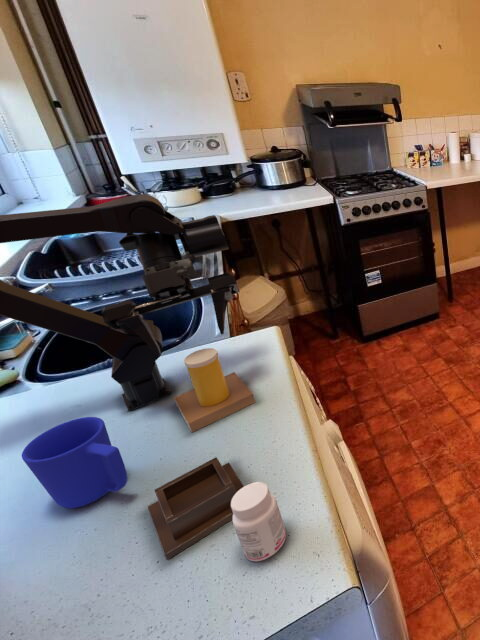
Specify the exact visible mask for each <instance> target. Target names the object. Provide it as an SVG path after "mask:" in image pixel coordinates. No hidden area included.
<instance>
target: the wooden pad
mask: <svg viewBox="0 0 480 640" xmlns="http://www.w3.org/2000/svg"><path fill="white" fill-rule="evenodd" d="M224 377H225V380H226V383H227V387H228V390H229V396H228V397H227V398H226V399H225V400H224V401H222V402H221V403H219V404H216V405H213V406H201V405H200V403H199V400H198V398H197V395H196V392H195V389H194V388H193V389H190V390H188V391H186V392H183V393H181V394H179V395H176V396H174V397H173V399H174V401H175V405H176V407H177V409H178V410H179V413H180V414H181V416H182V418H183V419H184V421H185V423H186V425H187V427H188V428H189V430H190V431H191V433H194V432H197V431H198V430H200V429H203V428H205V427H207V426H209V425H211V424H213V423H215V422H218V421H219V420H221V419H224V418H226V417H228V416H230V415H232V414H235V413H236V412H238V411H240V410H242V409H244V408H245V409H246V408H247V407H249V406H250V405H251V406H252V405H253V404H255V403H256V400H255V397H254V393H253V392H252V390H250V388H248V386H247V385H246V384H245V383H244V382H243V380H242V379H241V378H240V376H239V375H238V374H237V373H236V372H235V371H233V372H231V373H229V374H226V375H224Z"/></svg>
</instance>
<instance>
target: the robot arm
mask: <svg viewBox="0 0 480 640" xmlns="http://www.w3.org/2000/svg"><path fill="white" fill-rule="evenodd" d="M95 232H97V233H98V232H99V233H100V232H101V233H103V232H104V233H115V234H126V235H124V236H123V237H122V238H121V239H120V240H119V241H118V243H119V245H120V246H121V247H122V249H123V250H124V251H125V252H129V251H130V252H131V251H134V250H136V252H137V254H138V257H139V260H140V263H141V265H142V269H143V271H144V274H143V275H141V278H142V280H143V283H144V285H145V287H146V290H147V293H148V296H149V297H150V298H153V299H152V300H149V301H145V302H142V303H138V304H136V303H135V302H134V301H133V300H132V299H128V300H124V301H121V302H120V301H119V302H117V303H113V304H109V305H107V306H104V307H103V309H102V311H101V315H99V314H96V313H94V312H90V311H87V310H85V309H81V308H79V307H75V306H73V305H71V304H70V305H69V304H67V303H64V302H62V301H58V300H56V299H52V298H50V297H46V296H44V295H41V294H38V293H36V292H32V291H30V290H27V289H24V288H20V287H17V286H15V285H12V284H9V283H7V282H5V281H4V280H2V279H1V278H0V316H2V317H5V318H8V319H11V320H14V321H17V322H20V323H24V324H28V325H31V326H34V327H38V328H41V329H43V330H47V331H50V332H54V333H57V334H60V335H63V336H67V337H70V338H73V339H77V340H80V341H83V342H86V343H89V344H93V345H95V346H97V347H98V348H99V349H101V350H102V351H104V352H105V354H107V355H109V356H110V357H112V367H111V375H110V376H111V377H110V378H112V380H114V381H115V382H116V383H118V384H120V387H121V389H122V392H123V393H122V394H121V397H122V399H123V402H124V404H125V406H126V409H127V411H133V410H136V409H138V408H140V407H143V406H145V405H148V404H150V403H152V402H155V401H157V400H160V399H162V398H164V397H167V396H170V395H171V394H172V391H171V389H170V387H169V385H168V383H167V381H166V380H165V378H163V377H162V375H161V372H160V370H159V367H158V364H157V362H156V361H157V360H158V359H159V358H160V357H162V354H163V349H164V347H163V335H162V332H161V329H160V328H159V327H158V326H157V325H154V320H152V319H151V320H150V319H144V315H147V314H150V313H154V312H158V311H160V310H164V309H167V308H171V307H174V306H178V305H181V304H184V303H188V302H191V301H194V300H197V299H201V298H204V297H208V296H211V300H212V304H213V308H214V314H215V320H216V323H217V328H218V330H219V333H220V335H221V336H223V335H224V334H225V325H226V323H225V322H226V311H227V307H228V303H229V301H232V300H233V299H234V295H237V294H239V293H240V289H239V285H238V282H237V281H236V280H237V279H236V278H235V275H234V273H232V272H229V271H228V272H224V273H221V274H217V275H213V276H210V277H207V281H208V284H203V285H201V286H197V287H194V286H193V283H192V280H191V277H195V276H197V272H196V269H195V266H194V264H193V261H192V259H191V257H186V258H183V256H182V252H181V250H180V248H179V245H178V242H177V241H178V240H180V242H181V245H182V248H183V250H184V253H185V254H186V255H187V254H189V255H190V256H194V258H197V257H198V258H199V257H201V256H206V255H210V254H214V253H218V252H222V251H227V250H229V249H230V247H229V244H228V240H227V238H226V235H225V233H224V231H223V229H222V228H221V226H220V223H219V220H218V217H217V216H216V214H212V215H207V216H205V217H203V218H197V219H193V220H188V221H182V219H180V218H179V217H178V216H175V215H174V214H172V213H171V212H169V211H167V210H166V209H165V207H164V204H163V203H162V202H161V201H160V200H159V199H158V198H156V197H155V196H153V195H150V194H147V193H146V194H145V193H138V194H133V195H129V196H124V197H120V198H116V199H112V200H110V201H106V202H103V203H99V204H95V205H91V206H81V207H80V206H79V207H70V208H59V209H49V210H39V211H30V212H29V211H27V212H19V213H9V214H0V244H5V243H6V244H7V243H14V242H22V241H30V240H37V239H38V240H39V239H46V238H54V237H55V238H56V237H63V236H70V235H79V234H87V233H88V234H89V233H95Z"/></svg>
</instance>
